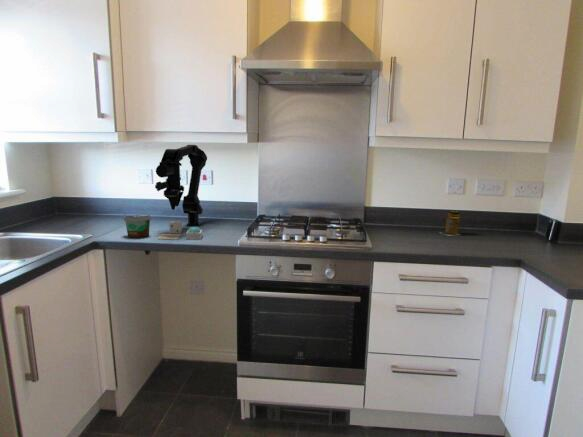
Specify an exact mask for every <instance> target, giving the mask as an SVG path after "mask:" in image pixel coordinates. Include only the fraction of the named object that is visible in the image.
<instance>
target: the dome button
mask: <svg viewBox="0 0 583 437" xmlns="http://www.w3.org/2000/svg"><path fill="white" fill-rule="evenodd" d="M188 230H189V233H199V230H200V227H199V226H190V227H189V228H188Z"/></svg>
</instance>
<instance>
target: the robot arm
mask: <svg viewBox="0 0 583 437" xmlns="http://www.w3.org/2000/svg"><path fill="white" fill-rule="evenodd" d="M186 156H187V157H188V159H189V164H190V166H191V173H190V180H189V186H188V193H187V195H183V194H184V191H185V186H184V185H181V180H182V177H181V168H180V167H182V163H181V161H182V160H183V159H184V157H186ZM207 160H208V156H207V154H206V152H205V151H203V150H202V149H201V148H199V147H198V145H196V144H187V145H186V146H182V147H179V148H166V149H165V150H164V153H163V155H162V157H161V161H159V162H158V163H159V164H158V166H157V167H156V168H155V172H156V175H157V177H158V178H166V179H165V181H163V182H161V181H158V182H156V184H155V185H154V186H155V187H154V188H155V189H156V191H157V192H160V191H161V190H164V189H165V190H164V191H163V197H165V198H166V199H167V200H168V202H169V204H170V207H171V210H173V211H174V210H175V209H176V207H179V205H180V202H181V200H182V199H183V200H182V203H181V206H182V211H183V214H187V223H186V226H188V227H189V226H190V227H199V226H200V225H201V222H200V217H199V216H200V215H202V214H203V211H204V210H203V208H202V206H201V204H200V202H201V201H200V199H199V196H198V195H199V188H200V182H201V176H202V170H203V169H204V167H206V164H207Z"/></svg>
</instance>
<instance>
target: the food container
mask: <svg viewBox="0 0 583 437" xmlns="http://www.w3.org/2000/svg"><path fill="white" fill-rule="evenodd" d="M151 220H152V217H151V215H150V214H148V215H143V216H142V215H130V216H129V215H126V214H124V216H123V221H124V222H125V227H126V231H127V232H126V233H127V234H126V235H127V237H128V238H129V239H141V238H142V239H143V238H146V237H147V238H148V237H149V236H150V225H151V224H150V222H151Z"/></svg>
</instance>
